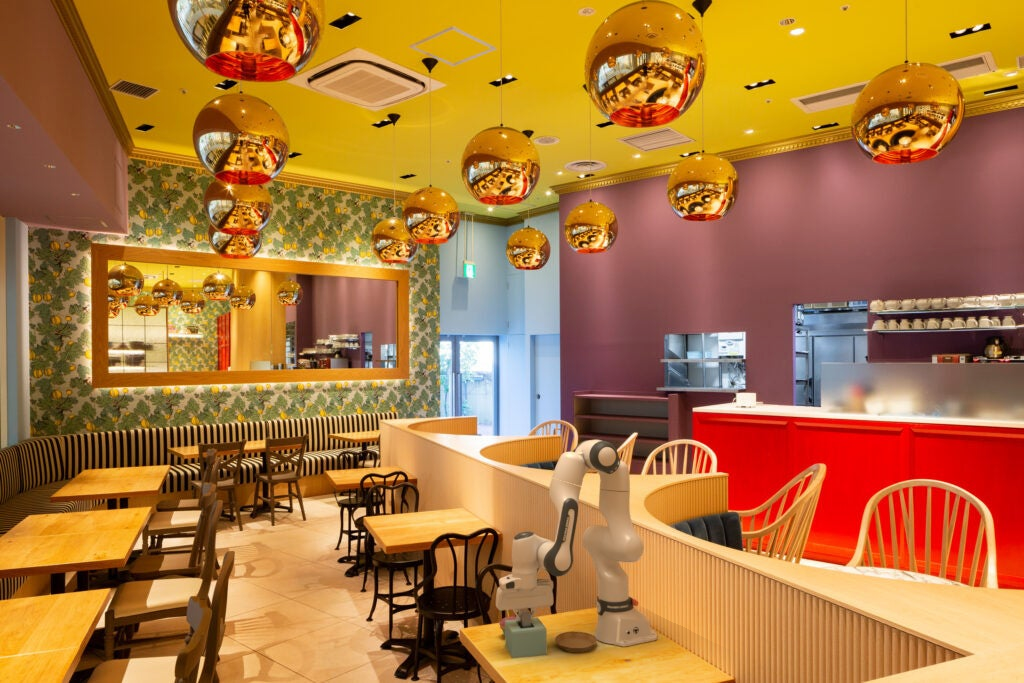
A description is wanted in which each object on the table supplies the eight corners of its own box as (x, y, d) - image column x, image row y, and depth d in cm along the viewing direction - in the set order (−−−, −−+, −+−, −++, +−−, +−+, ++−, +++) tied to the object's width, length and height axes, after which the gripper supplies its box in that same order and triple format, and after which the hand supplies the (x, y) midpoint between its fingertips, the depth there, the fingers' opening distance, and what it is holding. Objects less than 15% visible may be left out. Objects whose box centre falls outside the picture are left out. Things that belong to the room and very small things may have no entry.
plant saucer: (591, 657, 226) (591, 649, 226) (549, 652, 231) (549, 644, 231) (601, 641, 240) (600, 634, 240) (561, 636, 245) (561, 629, 245)
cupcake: (495, 639, 243) (495, 605, 244) (506, 631, 250) (506, 598, 251) (516, 643, 239) (516, 608, 240) (527, 635, 246) (526, 601, 247)
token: (527, 622, 236) (527, 608, 236) (531, 627, 231) (530, 612, 231) (519, 623, 235) (518, 609, 235) (522, 628, 230) (522, 613, 231)
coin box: (538, 642, 239) (537, 617, 240) (546, 654, 229) (546, 628, 229) (505, 645, 237) (505, 620, 237) (512, 658, 226) (512, 631, 226)
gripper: (550, 575, 239) (551, 615, 239) (494, 579, 235) (494, 620, 234) (555, 580, 233) (556, 621, 232) (498, 584, 229) (498, 626, 228)
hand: (524, 620), depth 233 cm, fingers closed on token, 3 cm apart
